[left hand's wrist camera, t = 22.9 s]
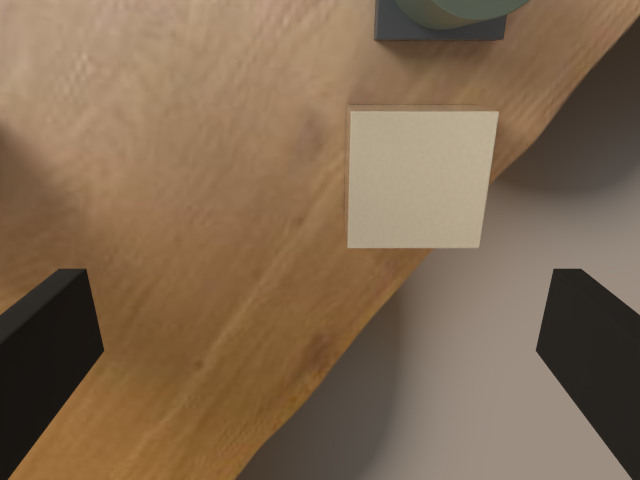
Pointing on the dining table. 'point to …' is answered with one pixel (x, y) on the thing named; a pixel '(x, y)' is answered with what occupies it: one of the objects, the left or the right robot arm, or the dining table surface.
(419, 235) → the beige square block
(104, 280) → the dining table surface
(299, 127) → the dining table surface
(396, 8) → the grey base with post
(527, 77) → the dining table surface
